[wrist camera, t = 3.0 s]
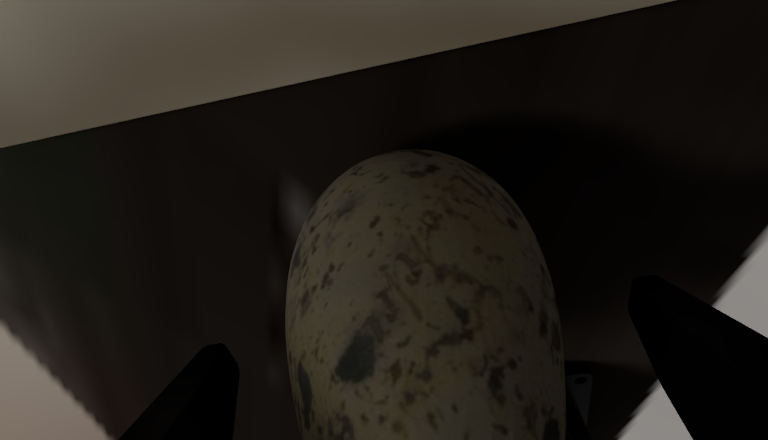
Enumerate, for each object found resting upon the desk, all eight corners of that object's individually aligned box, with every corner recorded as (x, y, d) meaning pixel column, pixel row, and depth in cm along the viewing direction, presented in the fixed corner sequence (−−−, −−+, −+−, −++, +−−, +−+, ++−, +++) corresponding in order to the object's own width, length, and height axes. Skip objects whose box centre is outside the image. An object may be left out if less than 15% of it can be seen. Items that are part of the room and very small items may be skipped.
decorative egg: (530, 127, 12) (856, 558, 4) (466, 279, 15) (571, 683, 7) (321, 88, 11) (187, 524, 3) (301, 257, 15) (212, 680, 7)
